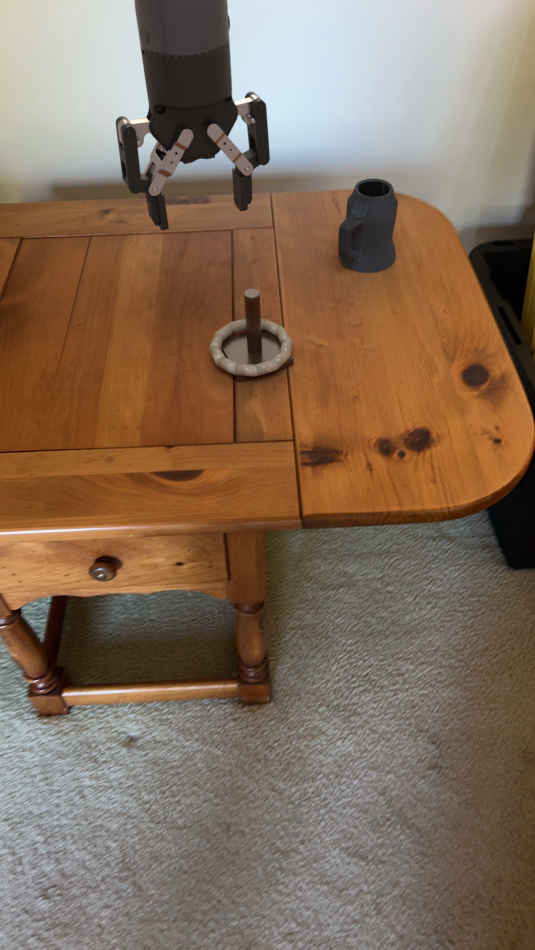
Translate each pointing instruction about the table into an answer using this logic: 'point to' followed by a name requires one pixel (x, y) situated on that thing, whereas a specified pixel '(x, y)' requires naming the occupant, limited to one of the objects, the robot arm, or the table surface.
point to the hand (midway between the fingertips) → (202, 216)
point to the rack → (252, 339)
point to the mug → (369, 227)
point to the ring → (248, 368)
